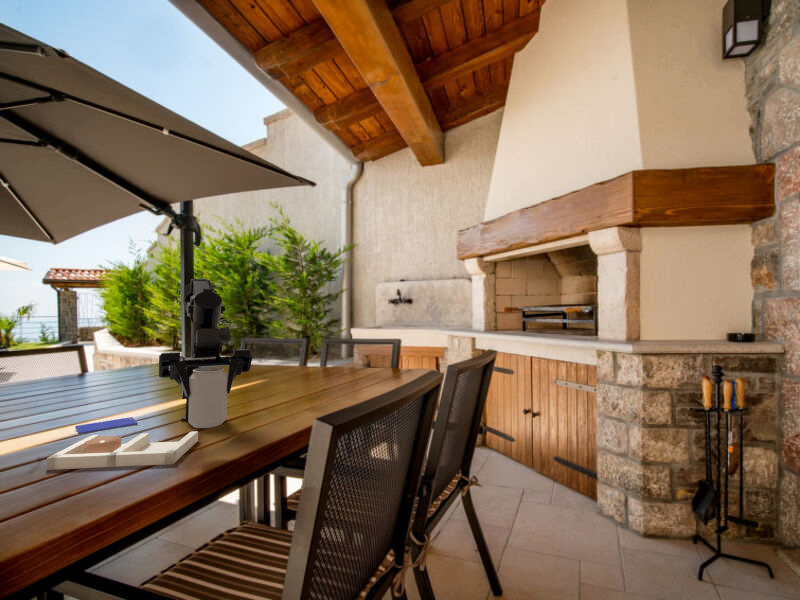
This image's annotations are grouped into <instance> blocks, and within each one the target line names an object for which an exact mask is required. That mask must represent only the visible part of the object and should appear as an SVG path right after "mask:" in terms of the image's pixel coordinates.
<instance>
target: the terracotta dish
mask: <svg viewBox="0 0 800 600" xmlns="http://www.w3.org/2000/svg"><path fill="white" fill-rule="evenodd" d="M122 440H123V439H122V436H120V435H119V436H118V435H107V436H100V437H98V438H94V439H91V440H88V441H86V442H84V454H87V453H111V452H113V451H115V450H116V449H118V448H120V447H121V444H122Z"/></svg>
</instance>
